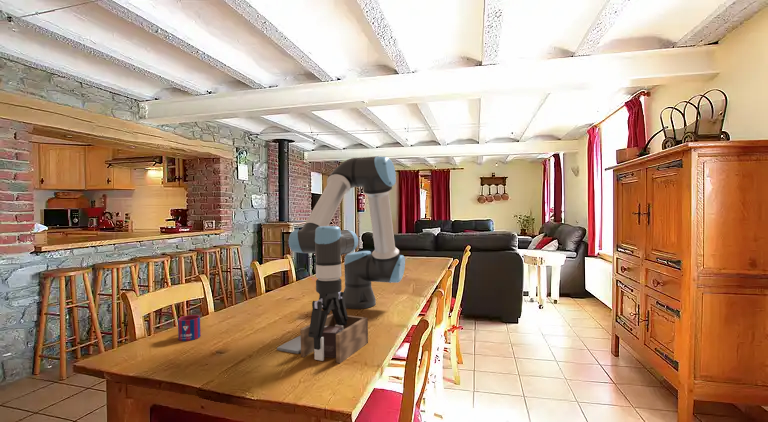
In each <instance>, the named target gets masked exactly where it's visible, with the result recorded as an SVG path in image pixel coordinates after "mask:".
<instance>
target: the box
mask: <svg viewBox="0 0 768 422" xmlns="http://www.w3.org/2000/svg"><path fill="white" fill-rule="evenodd" d="M341 331H342V327H339V326H324V330H323V334H322V337H324V358H336V334H337V333H339V332H341Z"/></svg>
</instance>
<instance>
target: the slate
mask: <svg viewBox="0 0 768 422" xmlns="http://www.w3.org/2000/svg"><path fill="white" fill-rule="evenodd" d="M276 351H280V352H286V353H291V354H297V355H299V354H301V334H300V335H299V336H296V337H294V338H293V339H290V340H289V341H287V342H284V343H283V344H281V345H279V346H278V347H276Z"/></svg>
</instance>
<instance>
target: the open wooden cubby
mask: <svg viewBox="0 0 768 422" xmlns="http://www.w3.org/2000/svg"><path fill="white" fill-rule="evenodd" d="M347 316H348V320H347V321H346V322H347V325H344V330H342V331H341V332H339V333H337V334H336V357H335V363H336V364H342V363H343V362H345V360H347V359H348V358H349V357H351V356H352V355H354V354H355V353H357V352H358V351H359V350H360V349H362V348H363V347H364V346H366V345H367V344H369V325H368V323H369V321H368V320H369V319H368V317H365V316H356V315H350V314H349V315H348V314H347ZM343 317H344V316H343ZM335 325H338V324H337V323H336V321H335V318H334V316H333V313H332V312H331V313H329V315H327V319H326V323H325V326H335ZM309 328H310V324H308V325H306V326H303V327H302V328H300V335H301V353H300V357H303V358H305V357H307V356H308V355H310V354H311V353H312V354H313V352H314V338H313V337H309V336H308V335H309Z"/></svg>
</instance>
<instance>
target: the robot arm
mask: <svg viewBox="0 0 768 422" xmlns="http://www.w3.org/2000/svg"><path fill="white" fill-rule="evenodd" d="M396 178H397V174H396V168H395V165H394V163H393V161H392V159H391V158H389V157H388V156H379V155H376V156H366V157H365V156H364V157H351V158H349V159H346V160H345V161H343V162H341V163H340V164H338V165H337V166H336V167H335V168H334V169H333V170H332V172H331V173H330V174H329V176H328V177H327V180H326V184H327V185H326V186H325V188H324V190H323V191H322V194H321V195H320V197H319V199H318V201H317V202H316V204H315V205H314V207H313V209H312V211H311V212H310V214H309V216H308V218H307V219H306V221H305V222H304V225H303V226H302V228H301V229H296V230H293V231H291V232H290V234H289V236H288V247H289V249H290V250H291V251H292V252H293V253H300V254H315V278H316V280H315V291H316V293H317V294H319V296H318V300H313V301H312V302H311V305H312V306H311V309H312V310H311V316H310V317H311V318H310V324H309V325H310V328H309V335H308V336H309V337H313V338H314V351H313V352H314V360H317V361H322V362H323V361H325V357H324V337H322V334H323V330H324V326H325V323H326V319H327V316H328V315H330V314H332V313H333V316H334V318H335V321H336V323H337V324H338V325H335V326H339V327H342V330H344V325H347V322H346V321H347V320H348V316H347V315H348V312H347V309H351V310H352V309H355V310H357V309H358V310H361V309H368V308H372V307H375V306H376V303H377V301H376V295H375V293H374V290H373V287H372V283H373V282H375V283H389V284H391V283H397V284H398V283H400V282H401V281H402V279H403V277H404V273H405V268H406V267H405V266H406V258H405V256H404V255H403V254H400V249H398V248H397V247H396V241H395V236H394V225H393V216H392V208H391V201H390V200H391V199H390V193H391V191H392V190H393V187H394V186H395V184H396V182H397V179H396ZM352 188H362V190H363V191H362V192H363V194H364V195H366V196H367V200H368V207H369V214H370V222H371V230H372V231H371V232H372V237H373V244H374V245H373V246H374V250H373V251H370V250H361V251H355V250H356V249H357V247H358V246H359V237H358V236H357V234H356V232H354V231H352V230H350V229H342V230H341V227H339V226H338V225H330V224H331V222H332V220H333V218H334V216H335V214H336V212H337V210H338V208H339V206H340V204H341V203H342V200H343V198H344V196H345V195H346V194H348V193H349V192H350V190H351V189H352ZM342 255H345V256H344V263H343V265H344V290H343V291H342V276H343V275H342ZM343 316H344V317H343Z"/></svg>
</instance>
